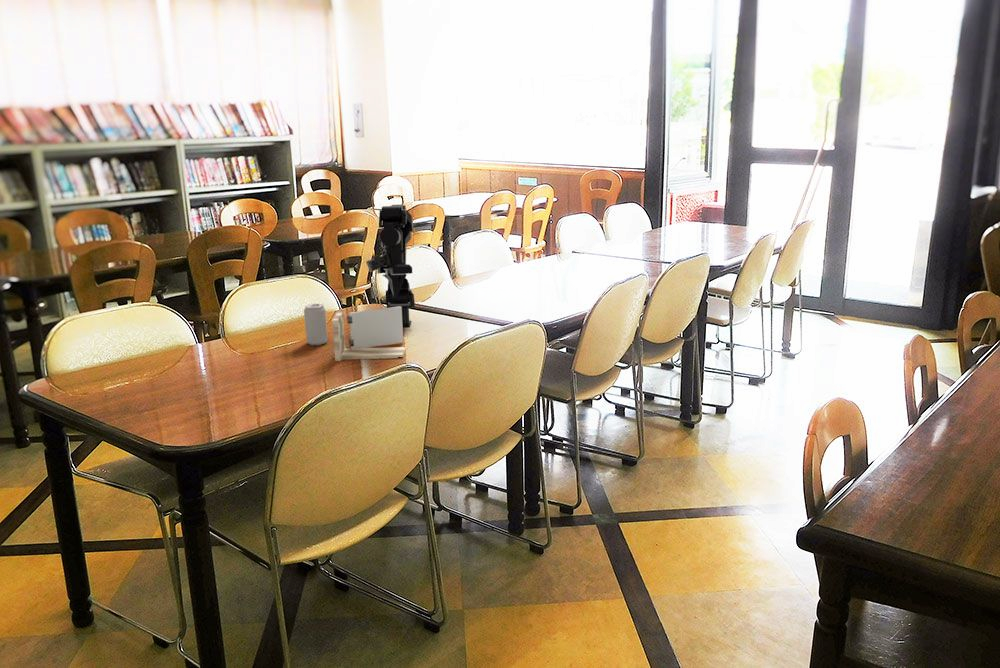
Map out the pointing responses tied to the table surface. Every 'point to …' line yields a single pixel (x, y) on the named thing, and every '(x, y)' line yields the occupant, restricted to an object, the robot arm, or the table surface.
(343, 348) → the cabinet corner
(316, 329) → the beverage can
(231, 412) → the table surface
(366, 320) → the cabinet door
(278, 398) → the table surface
